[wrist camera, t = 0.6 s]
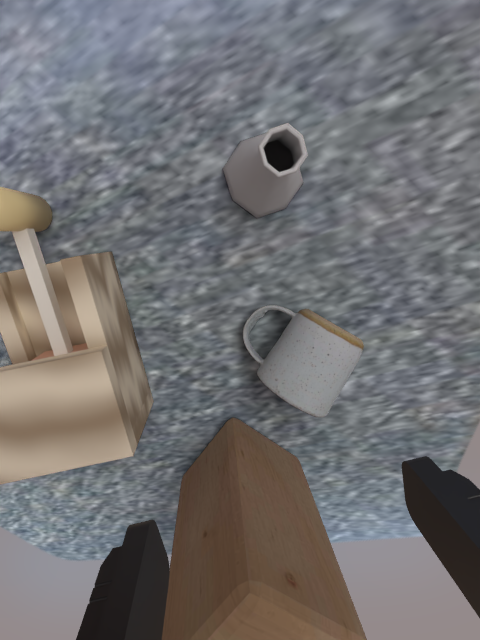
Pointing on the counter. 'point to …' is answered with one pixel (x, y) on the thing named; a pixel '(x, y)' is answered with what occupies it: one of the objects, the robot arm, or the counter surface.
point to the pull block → (36, 262)
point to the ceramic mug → (306, 360)
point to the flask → (266, 170)
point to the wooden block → (253, 550)
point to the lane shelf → (70, 373)
